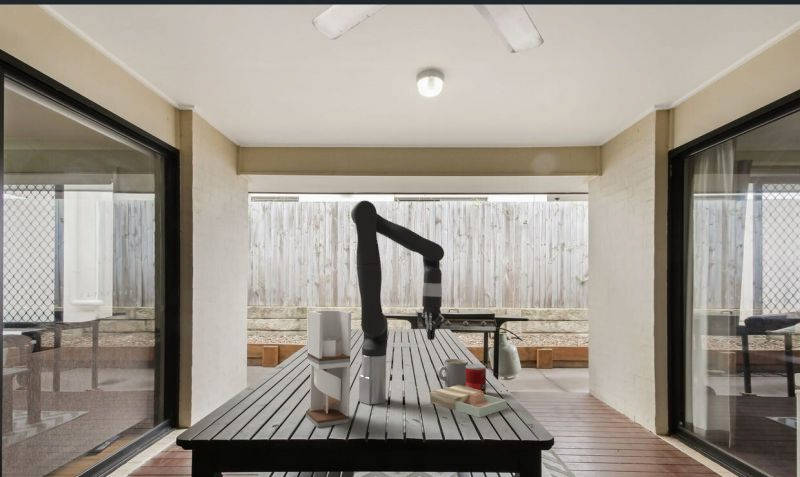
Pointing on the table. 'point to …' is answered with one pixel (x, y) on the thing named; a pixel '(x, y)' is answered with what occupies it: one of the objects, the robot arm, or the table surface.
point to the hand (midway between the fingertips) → (430, 339)
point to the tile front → (482, 404)
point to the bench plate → (452, 396)
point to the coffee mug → (454, 372)
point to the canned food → (476, 377)
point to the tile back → (476, 398)
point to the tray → (484, 410)
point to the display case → (329, 367)
